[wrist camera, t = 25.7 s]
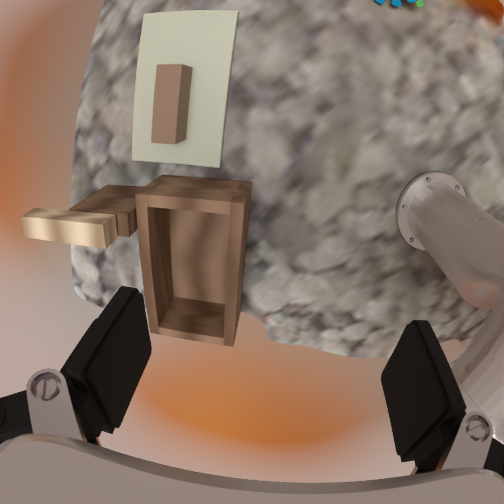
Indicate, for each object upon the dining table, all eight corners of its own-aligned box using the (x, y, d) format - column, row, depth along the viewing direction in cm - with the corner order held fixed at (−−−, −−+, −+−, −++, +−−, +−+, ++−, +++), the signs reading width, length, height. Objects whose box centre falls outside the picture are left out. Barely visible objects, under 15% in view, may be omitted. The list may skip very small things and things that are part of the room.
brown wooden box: (251, 182, 41) (242, 208, 32) (240, 309, 52) (232, 353, 43) (106, 172, 42) (67, 194, 33) (120, 290, 53) (94, 326, 44)
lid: (239, 13, 31) (232, 0, 26) (221, 165, 41) (212, 175, 36) (148, 16, 31) (129, 6, 26) (136, 158, 42) (117, 167, 36)
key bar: (115, 214, 33) (102, 224, 31) (117, 237, 35) (106, 248, 32) (34, 208, 34) (21, 216, 31) (38, 227, 35) (25, 236, 33)
